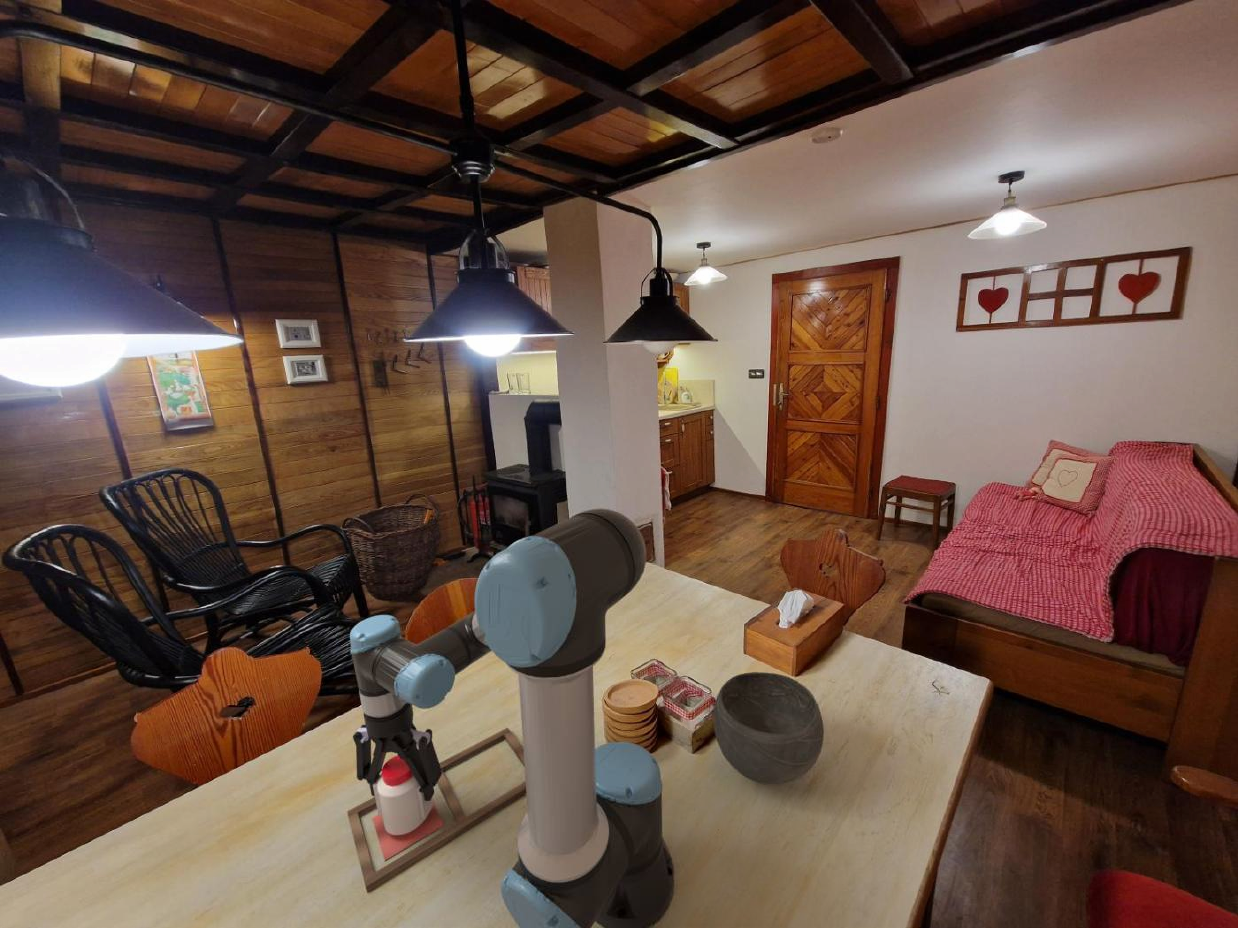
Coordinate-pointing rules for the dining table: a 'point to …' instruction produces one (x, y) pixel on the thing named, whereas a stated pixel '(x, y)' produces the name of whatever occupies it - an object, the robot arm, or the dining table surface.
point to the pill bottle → (398, 797)
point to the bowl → (768, 727)
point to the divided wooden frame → (429, 818)
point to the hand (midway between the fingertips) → (405, 810)
